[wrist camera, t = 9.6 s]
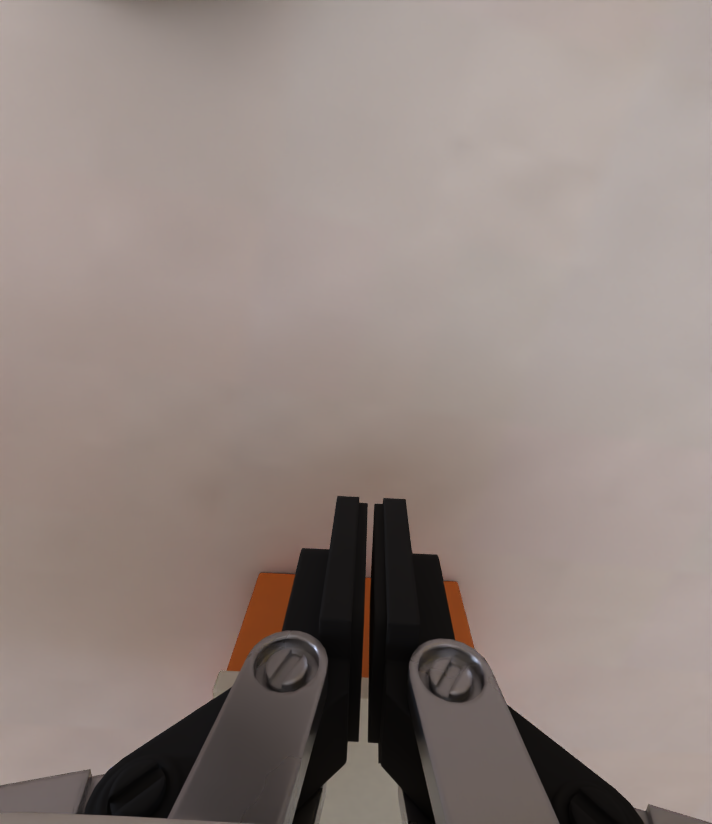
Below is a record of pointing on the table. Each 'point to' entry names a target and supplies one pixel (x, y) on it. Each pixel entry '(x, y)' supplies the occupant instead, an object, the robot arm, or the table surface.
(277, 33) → the table surface
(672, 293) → the table surface
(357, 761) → the storage box
